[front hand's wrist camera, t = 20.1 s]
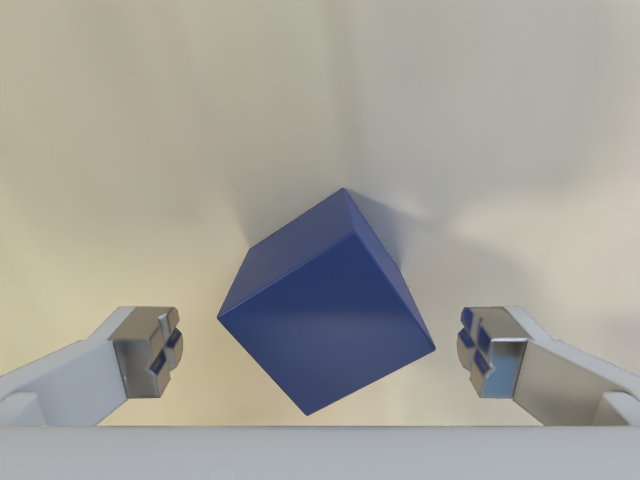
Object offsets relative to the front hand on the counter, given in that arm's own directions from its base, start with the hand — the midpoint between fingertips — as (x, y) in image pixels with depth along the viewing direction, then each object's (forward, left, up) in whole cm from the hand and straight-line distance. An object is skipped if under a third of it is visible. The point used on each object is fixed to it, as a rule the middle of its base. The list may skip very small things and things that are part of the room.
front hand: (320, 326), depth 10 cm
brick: (0, 0, -5) cm, 5 cm away
